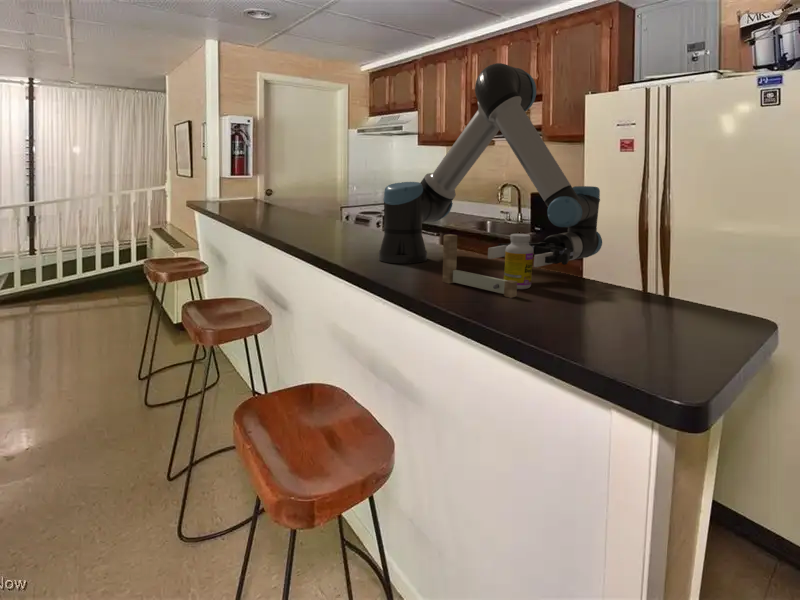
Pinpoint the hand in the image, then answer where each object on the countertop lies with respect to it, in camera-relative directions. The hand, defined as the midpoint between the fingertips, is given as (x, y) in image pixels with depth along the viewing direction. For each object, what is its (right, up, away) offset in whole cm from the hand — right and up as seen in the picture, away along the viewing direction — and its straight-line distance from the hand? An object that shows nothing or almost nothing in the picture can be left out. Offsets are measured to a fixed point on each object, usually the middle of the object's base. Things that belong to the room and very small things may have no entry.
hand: (511, 257), depth 128 cm
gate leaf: (-8, -7, +1) cm, 11 cm away
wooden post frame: (-8, -7, +2) cm, 11 cm away
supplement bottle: (+2, -7, +4) cm, 9 cm away
